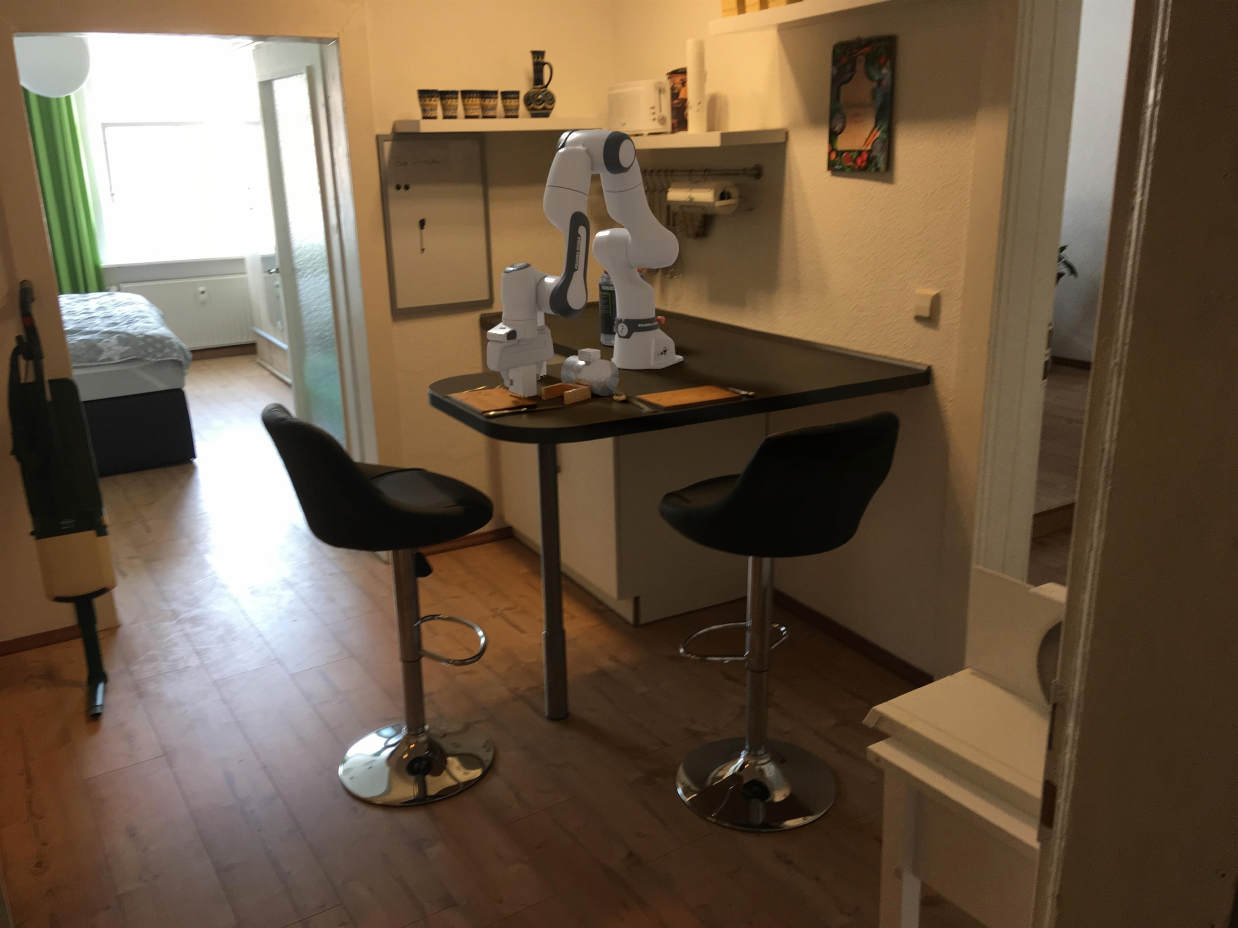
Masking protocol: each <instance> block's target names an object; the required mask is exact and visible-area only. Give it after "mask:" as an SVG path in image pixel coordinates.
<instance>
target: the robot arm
mask: <svg viewBox="0 0 1238 928" xmlns="http://www.w3.org/2000/svg"><path fill="white" fill-rule="evenodd" d="M636 151H637V150H636V146H635V142H634V141H633V139H632V138H631V136H630V135H629V134H628V133H626V132H623V131H620V130H619V131H618V130H613V131H612V130H608V129H603V128H602V129H599V128H595V129H581V130H580V129H572V130H571V129H570V130H568V131H565V132H563V134H561V136H560V137H559V139H558V141H557V144H556V149H555V156H554V158H553V161H552V162H551V167H550V169H549V172H548V176H547V179H546V185H545V189H544V192H543V193H544V194H543V199H542V200H543V201H542V204H543V205H542V206H543V208H542V209H543V210H542V211H543V213H544V215H545V217H546V219H547V220H548V221H549V223H550V224H552V225H553V226H554V227H556V228H557V229H558V230H559V231H560V232H561V234H562V235H563V238H564V252H563V263H562V267H563V268H562V272H561V273H560V274H561V275H559V276H558V275H553V274H549V273H546V272H543V271H541V270H539V269H536V268H535V267H534V266H533V265H532V264H531V263H528V262H519V263H515V264H514V263H513V264H510V265H508V266H506V267H505V268H504V269H503V271H502V272H501V278H500V301H501V305H502V315H501V322H500V323H499V324H497V325H495V326H494V327H493V328H491V329H490V330H488V331H487V332H486V338H487V339H488V340H489V341H488V343H487V346H486V365H487V367H488V369H489V370H490V371H493V372H498V373H500V375H501V377H502V379H503V381H504V382H503V385H504V387H508V388H509V387H510V386H513V379H510V377H509V375H508V374H509V373H510V369H513V368H518V367H520V366H525V365H530V364H536V381H539V380H541V377H540V373H541V370H542V368H543V362H545V361H546V362H548V361H552V360H553V358H554V356H555V353H554V345H553V344H554V343H553V339H552V336H551V334H552V333H551V329H550V327H548V326H547V325H546V324H545V325H542V326H537V312H539V311H540V312H544V314H550V315H555V316H558V317H561V318H564V319H569V320H570V319H574V318H576V317H578V316H579V315H580V314H582V313H583V311H584V310H585V308H586V306H587V304H588V300H589V299H588V297H589V294H588V293H589V292H588V291H589V290H588V283H587V280H588V279H587V275H588V266H589V265H588V264H589V252H590V240H591V225H590V220H589V218H588V212H587V211H588V200H589V194H590V189H591V188H590V187H591V182H592V180H591V179H592V175H598V174H599V175H600V182H601V187H602V191H603V197H604V198H603V199H604V201H605V206H606V211H607V214H608V216H609V217H610V218H611V219H612V220H614V221H615V222H616V223H618V224H621V225H622V226H623V227H624V228H623V227H614V228H607V229H604V230H600V231H598V232H597V233H596V234H595V236H594V238H593V241H592V245H591V249H592V250H591V251H592V254H593V258H594V259H595V261H596V262H597V263H598V264H599V265H600V266H602V268H603V267H604V268H605V270H606V271H607V272H608V274H609V276H610V277H611V279H612V282H613V284H614V288H615V293H616V306H617V316H616V317H615V329H616V330H617V333H616V335H615V342H614V346H613V357H611V359H610V361H612V362H613V363H615V365H616V366H617V368H618V369H625V370H626V369H627V370H645V369H646V370H647V369H651V370H654V369H655V370H656V369H657V370H658V369H659V370H661V369H663V368H667V367H670V366H673V365H674V364H677V363H679V362H682V361H684V357H683V356H681V355H680V354H678V355H677V354H676V348H675V347H676V346H675V342H674V340H673V339H672V338H671V337H670V336H668V335H667V333H666V332H664V331H663V330H662V329H660V324H664V323H665V320H666V319H665V316H660V315H658V316H656V299H655V298H656V293H655V289H654V288H653V286H652V285H651V284H650V283H648V281H647V282H645V281H644V280H642V278H641V277H640V276H639V274H638V271H637V268H642V269H661V268H666V267H671V266H672V265H673V264H674V263H675V262H676V260H677V259H678V255H679V252H680V251H679V250H680V245H679V241H678V238H677V236H676V235H675V234H674V233H673V232H672V231H670V230H669V229H667V228H666V227H665V226H663V225H662V223H661V222H660V221H659V220H658V219H657V218H656V216H655V215H654V214H653V212H652V210H651V208H650V206H649V203H648V200H647V195H646V192H645V188H644V187H645V186H644V183H643V177H642V173H641V168H640V165H639V162H638V159H637V155H636V154H637V153H636Z"/></svg>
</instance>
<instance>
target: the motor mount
mask: <svg viewBox="0 0 1238 928" xmlns="http://www.w3.org/2000/svg"><path fill="white" fill-rule="evenodd" d="M577 354H578V355H570V356H569V357H567V358H566V359H565V361H564V362H563V364H562V366H561V370H560V378H561V382H560V383H559V382H558V383H555V384H552V385H551V384H550V385H548V386H547V385H546V386H543V387H541V400H545V401H546V400H549V399H553V398H557V397H561V396H563V397H564V399H563V400H564V402H563V404H564V405H570V404H575V403H578V402H581V401H585V400H589V399H592V395H596V396H602V397H608V396H611V394H613V393H614V391H616V389H617V387H618V384H619V379H620V373H619V368H618V367H617V366H616V365H615V363H613V362H612V361H611V360H608V359H602V358H601V350H600V349H597V348H596V349H595V348H587V347H586V348H583V349H578V350H577Z"/></svg>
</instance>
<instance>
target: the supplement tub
mask: <svg viewBox="0 0 1238 928" xmlns="http://www.w3.org/2000/svg"><path fill="white" fill-rule="evenodd" d="M602 270H603V274H602V275H601V276H600V278H599V279H598V305H599V306H598V308H599V310H598V311H599V312H598V313H599V338H600V342H601V344H603V345H604V346H611V347H614V342H615V335H616V333H617V330H616V329H615V317H616V316H617V306H616V293H615V288H614V284H613V282H612V279H611V277H610V276H609V274H608V272H607V271H606V270H605V268H604V267H603V266H602ZM637 271H638V274H639V276H640V277H641V278H642V280H644V281H645V282H647V283H648V280H647V277H646V275H644V273H643V268H637Z"/></svg>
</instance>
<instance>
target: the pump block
mask: <svg viewBox="0 0 1238 928" xmlns="http://www.w3.org/2000/svg"><path fill="white" fill-rule="evenodd" d="M508 375H509V377H510V379H513V386H510V387H508V392H509V391H511V392H514V393H516V394H518V395H521V396H525V398H529V397H533V396H537V395H538V390H537V386H538V385H537V380H536V364H530V365H525V366H520V367H518V368H513V369H510V373H509V374H508ZM528 396H529V397H528Z"/></svg>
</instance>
